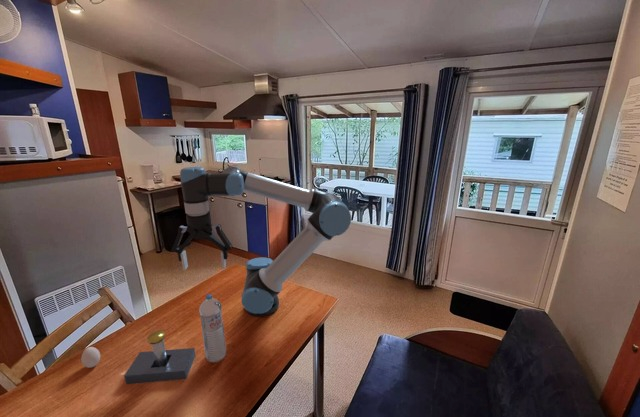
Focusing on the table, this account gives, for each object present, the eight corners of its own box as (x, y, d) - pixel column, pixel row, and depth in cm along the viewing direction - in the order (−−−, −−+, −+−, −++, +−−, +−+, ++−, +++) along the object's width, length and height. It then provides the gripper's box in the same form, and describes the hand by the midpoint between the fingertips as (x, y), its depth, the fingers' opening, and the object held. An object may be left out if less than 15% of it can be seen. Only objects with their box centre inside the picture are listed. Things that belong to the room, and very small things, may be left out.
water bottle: (207, 366, 88) (198, 304, 81) (205, 351, 94) (196, 292, 86) (227, 359, 91) (221, 298, 84) (225, 345, 97) (218, 287, 89)
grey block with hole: (195, 355, 92) (194, 347, 91) (186, 378, 84) (184, 370, 82) (141, 359, 90) (139, 352, 89) (126, 384, 81) (123, 375, 80)
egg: (85, 364, 88) (79, 346, 86) (102, 357, 91) (97, 340, 89) (83, 374, 84) (77, 356, 82) (101, 367, 87) (96, 349, 85)
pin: (173, 362, 89) (167, 329, 85) (167, 374, 85) (160, 340, 81) (159, 363, 89) (152, 330, 85) (152, 375, 84) (144, 341, 80)
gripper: (237, 208, 93) (241, 261, 100) (164, 210, 91) (173, 263, 97) (233, 215, 86) (238, 271, 93) (153, 217, 83) (164, 274, 90)
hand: (205, 267), depth 95 cm, fingers open, 13 cm apart
